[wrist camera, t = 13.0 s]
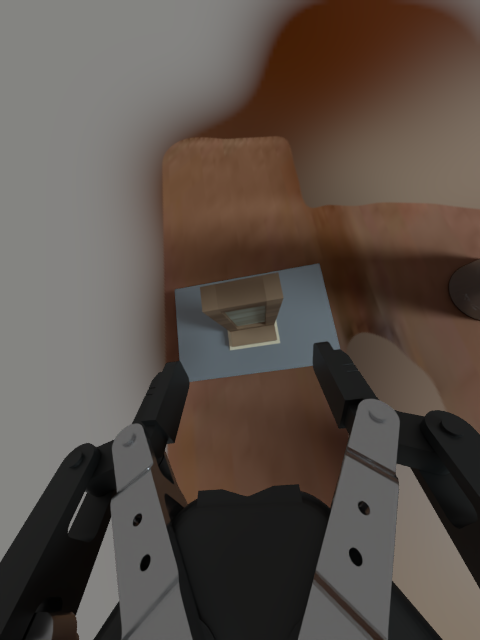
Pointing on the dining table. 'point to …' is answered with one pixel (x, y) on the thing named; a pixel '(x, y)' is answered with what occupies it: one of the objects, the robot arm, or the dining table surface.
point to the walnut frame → (245, 307)
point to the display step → (285, 353)
